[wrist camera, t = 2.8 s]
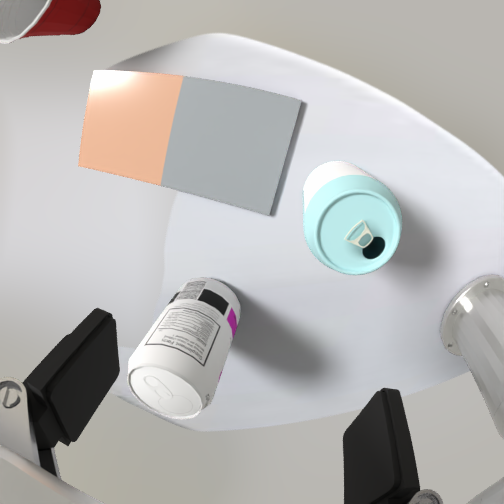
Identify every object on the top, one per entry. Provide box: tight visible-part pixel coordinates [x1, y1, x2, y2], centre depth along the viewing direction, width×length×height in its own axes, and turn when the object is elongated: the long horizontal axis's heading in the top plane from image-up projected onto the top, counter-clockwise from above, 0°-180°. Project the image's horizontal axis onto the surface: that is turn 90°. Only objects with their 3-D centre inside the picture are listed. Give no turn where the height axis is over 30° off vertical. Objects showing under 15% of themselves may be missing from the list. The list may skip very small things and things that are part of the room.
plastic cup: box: [0, 0, 101, 44], centre depth 18 cm, size 11×11×12 cm
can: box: [303, 161, 402, 275], centre depth 24 cm, size 7×7×12 cm
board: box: [78, 70, 302, 216], centre depth 29 cm, size 24×12×1 cm, turn 76°
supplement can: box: [127, 277, 241, 419], centre depth 30 cm, size 8×8×15 cm
